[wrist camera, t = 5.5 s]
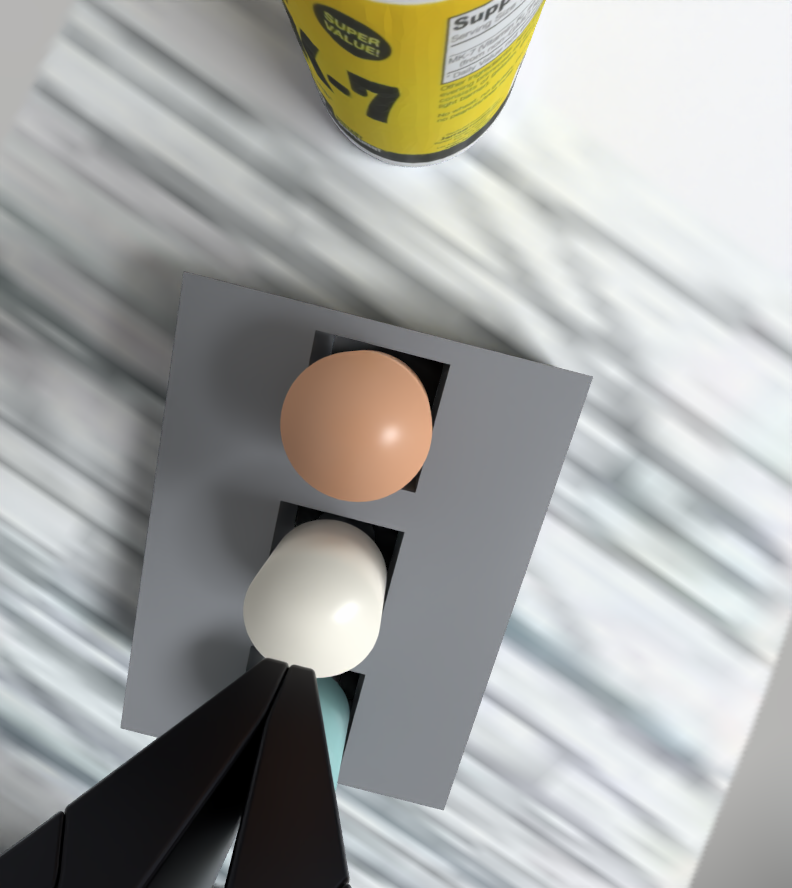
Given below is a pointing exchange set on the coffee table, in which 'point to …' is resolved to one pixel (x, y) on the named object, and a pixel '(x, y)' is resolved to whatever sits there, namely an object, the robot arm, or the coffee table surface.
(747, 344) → the coffee table surface
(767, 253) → the coffee table surface
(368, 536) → the cream white egg
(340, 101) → the supplement bottle
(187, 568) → the panel
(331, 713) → the light blue egg
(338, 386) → the peach orange egg
